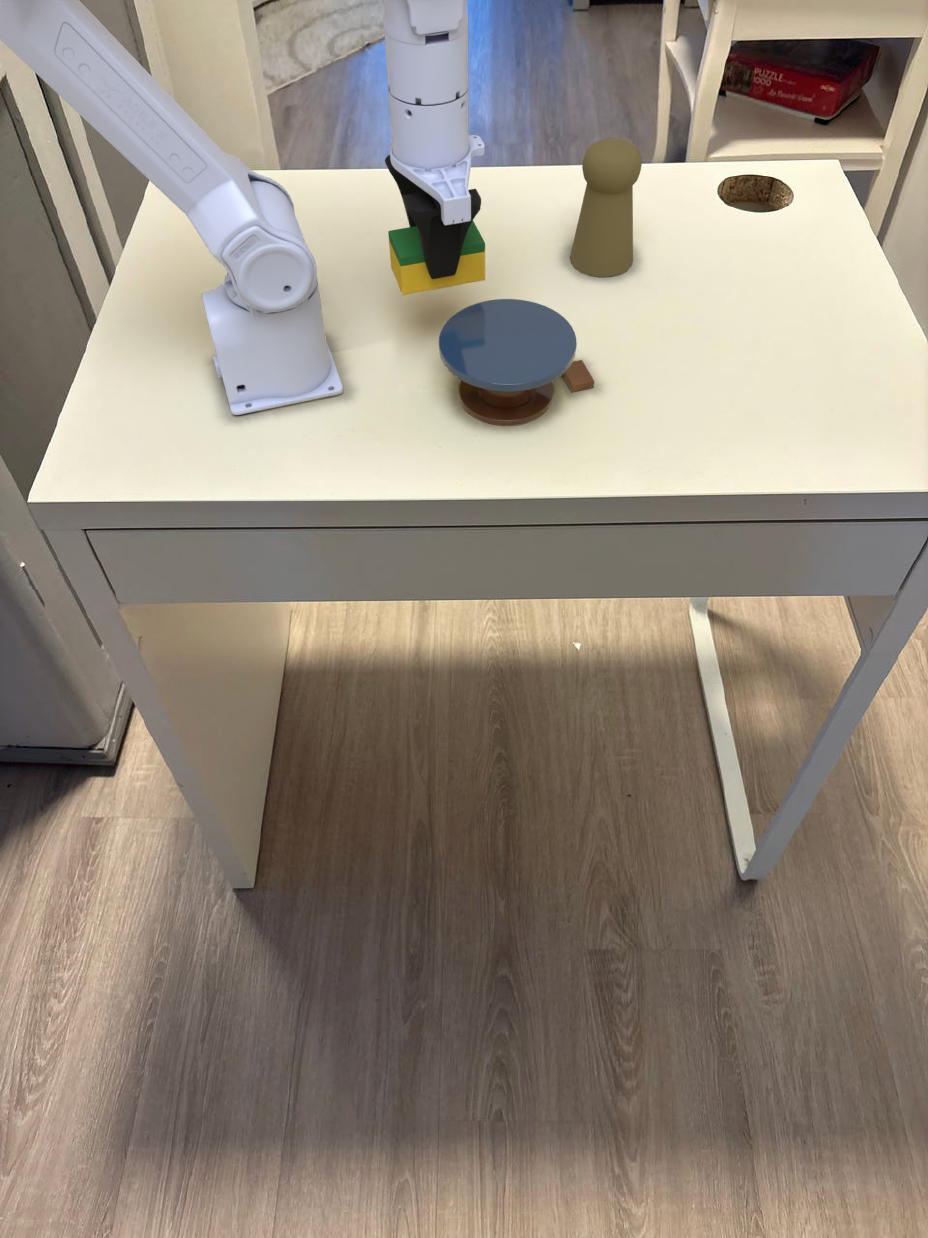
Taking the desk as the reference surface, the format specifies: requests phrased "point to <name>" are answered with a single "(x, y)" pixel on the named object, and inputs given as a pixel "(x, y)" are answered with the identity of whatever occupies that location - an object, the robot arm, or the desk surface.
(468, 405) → the blue-grey round pedestal
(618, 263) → the olive chess pawn
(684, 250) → the desk surface
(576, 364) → the brown flat block
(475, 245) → the sponge
